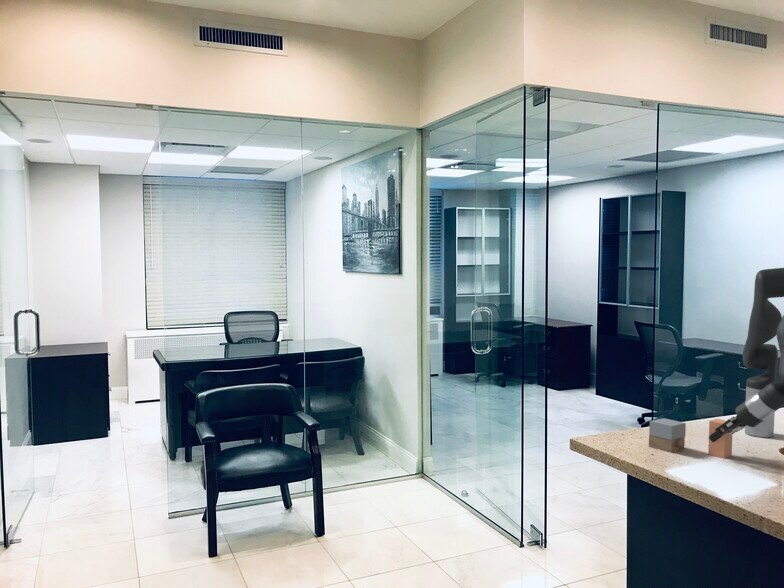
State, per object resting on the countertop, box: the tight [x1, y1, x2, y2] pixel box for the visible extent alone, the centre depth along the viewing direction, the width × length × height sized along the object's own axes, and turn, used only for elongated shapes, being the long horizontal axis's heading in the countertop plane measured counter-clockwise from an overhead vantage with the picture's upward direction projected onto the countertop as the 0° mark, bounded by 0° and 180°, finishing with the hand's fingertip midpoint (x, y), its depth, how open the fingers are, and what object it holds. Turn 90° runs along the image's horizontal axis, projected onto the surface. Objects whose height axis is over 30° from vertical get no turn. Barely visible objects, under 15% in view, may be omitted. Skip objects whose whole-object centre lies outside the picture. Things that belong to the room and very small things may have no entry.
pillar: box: [707, 418, 733, 459], centre depth 202 cm, size 5×5×11 cm
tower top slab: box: [648, 418, 687, 440], centre depth 209 cm, size 8×8×4 cm
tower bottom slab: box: [648, 434, 686, 454], centre depth 210 cm, size 8×8×4 cm
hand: (717, 437), depth 203 cm, fingers open, 8 cm apart
